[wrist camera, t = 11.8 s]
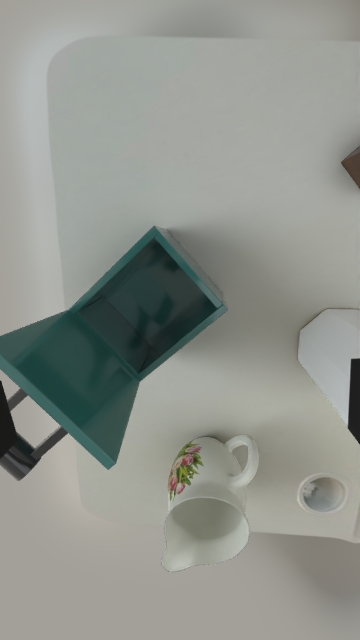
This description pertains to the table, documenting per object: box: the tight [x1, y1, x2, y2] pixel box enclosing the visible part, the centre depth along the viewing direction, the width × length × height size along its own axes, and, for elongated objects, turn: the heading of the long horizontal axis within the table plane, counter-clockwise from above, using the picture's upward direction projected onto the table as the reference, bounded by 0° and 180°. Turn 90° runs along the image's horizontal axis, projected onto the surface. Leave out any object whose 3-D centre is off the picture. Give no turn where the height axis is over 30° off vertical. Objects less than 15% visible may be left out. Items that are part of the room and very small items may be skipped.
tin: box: [69, 226, 228, 382], centre depth 37 cm, size 14×12×10 cm
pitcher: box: [161, 435, 259, 572], centre depth 41 cm, size 11×18×14 cm, turn 141°
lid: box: [0, 310, 139, 481], centre depth 27 cm, size 14×12×8 cm
